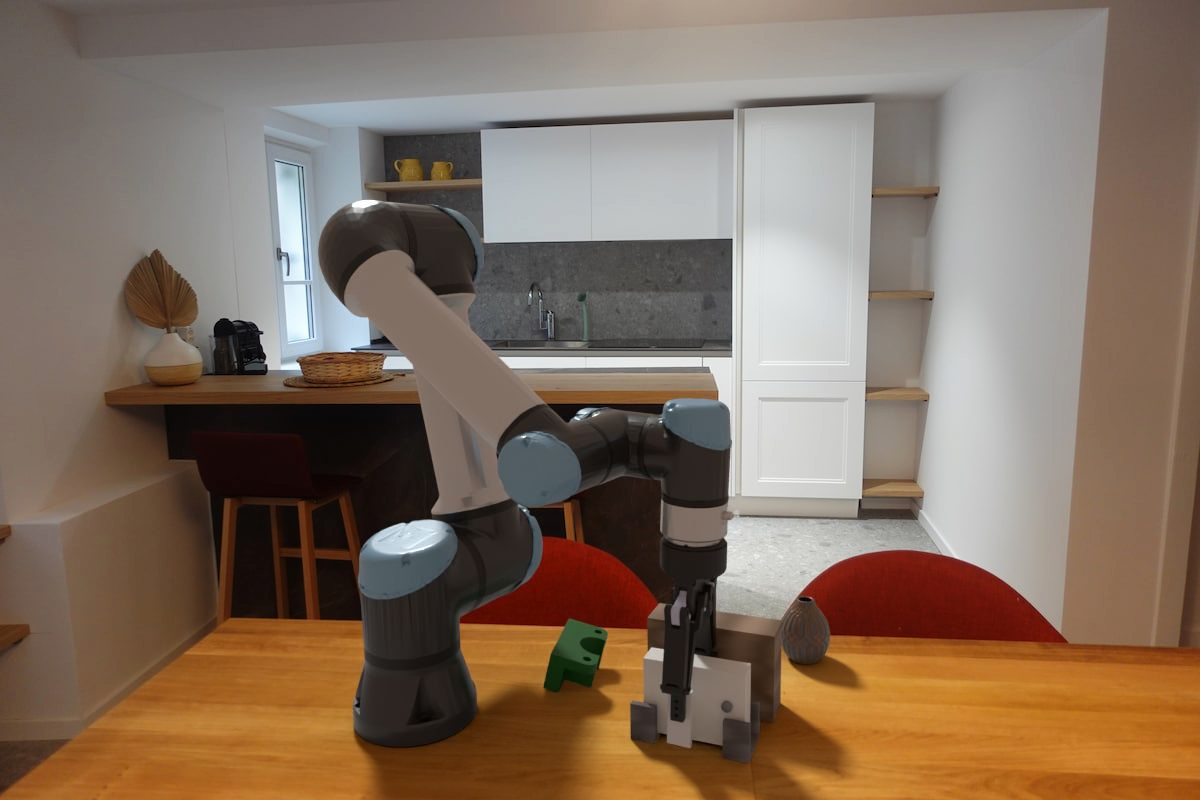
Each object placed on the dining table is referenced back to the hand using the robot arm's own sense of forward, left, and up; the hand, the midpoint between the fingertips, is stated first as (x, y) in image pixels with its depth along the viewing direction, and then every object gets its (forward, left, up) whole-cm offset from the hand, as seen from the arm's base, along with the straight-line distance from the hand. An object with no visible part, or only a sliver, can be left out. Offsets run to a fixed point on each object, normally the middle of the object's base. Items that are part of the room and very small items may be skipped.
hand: (688, 726), depth 94 cm
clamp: (-18, +10, -2) cm, 21 cm away
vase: (+10, +26, -2) cm, 27 cm away
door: (+1, +1, -1) cm, 1 cm away
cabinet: (+1, +5, -2) cm, 5 cm away
